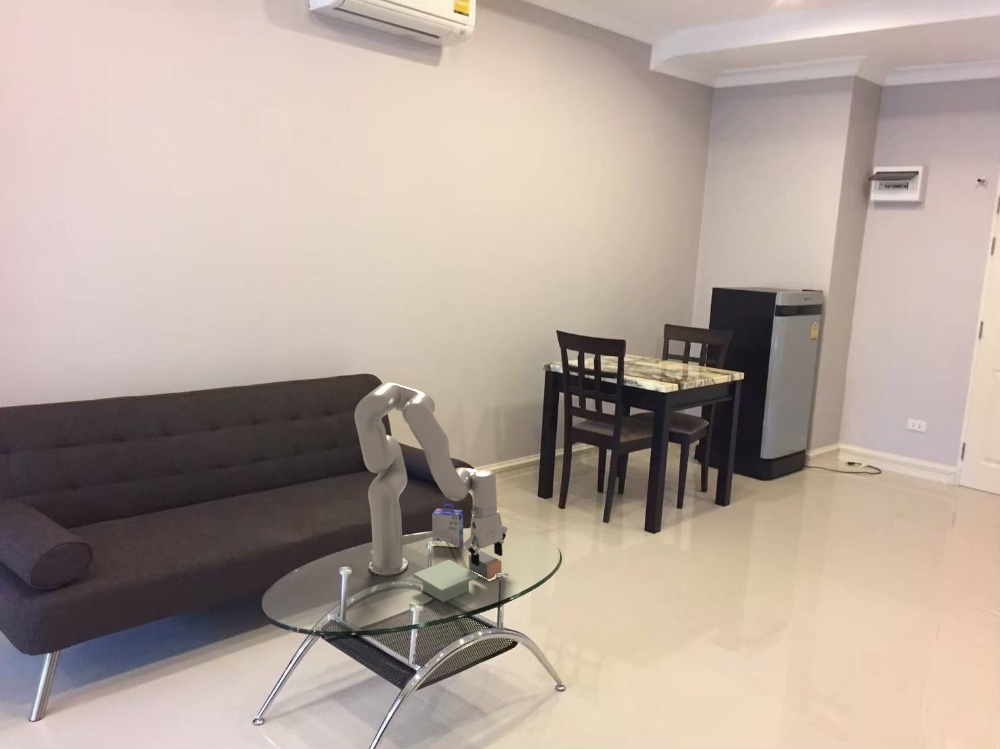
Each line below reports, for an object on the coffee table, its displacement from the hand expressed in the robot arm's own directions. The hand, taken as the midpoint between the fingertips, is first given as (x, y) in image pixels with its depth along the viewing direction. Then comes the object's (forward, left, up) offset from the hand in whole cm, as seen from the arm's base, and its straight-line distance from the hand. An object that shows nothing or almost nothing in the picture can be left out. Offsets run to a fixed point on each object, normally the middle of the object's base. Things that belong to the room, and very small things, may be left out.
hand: (487, 559), depth 256 cm
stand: (-1, -16, -5) cm, 17 cm away
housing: (-1, 0, -5) cm, 5 cm away
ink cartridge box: (-26, +5, -5) cm, 26 cm away
